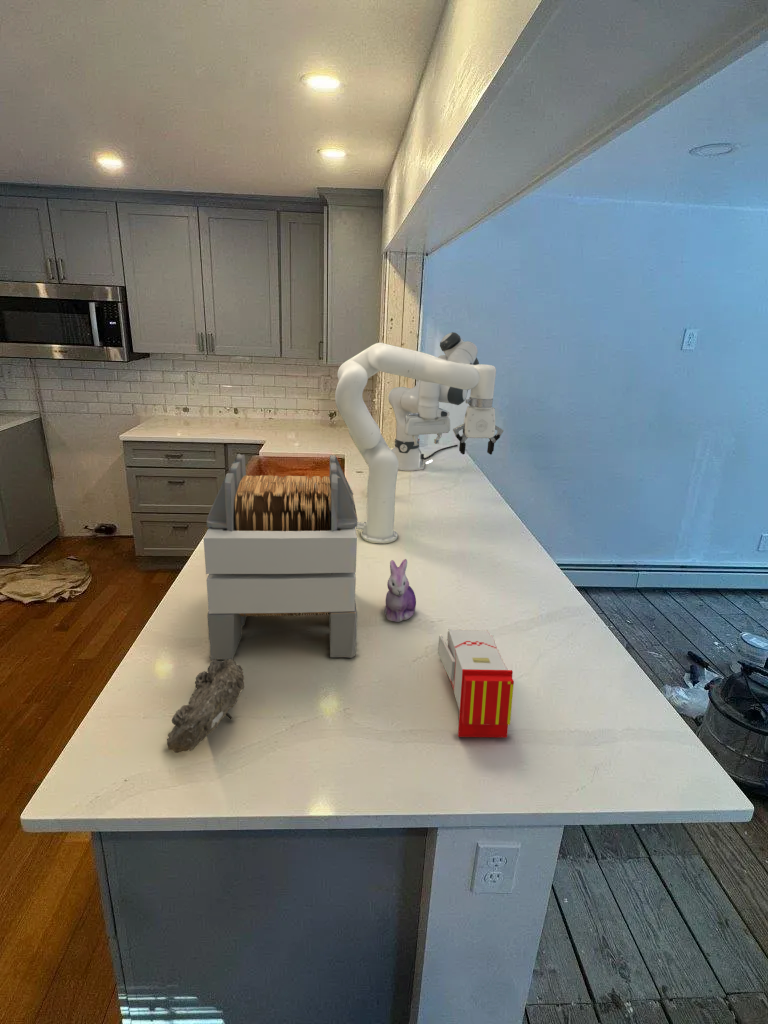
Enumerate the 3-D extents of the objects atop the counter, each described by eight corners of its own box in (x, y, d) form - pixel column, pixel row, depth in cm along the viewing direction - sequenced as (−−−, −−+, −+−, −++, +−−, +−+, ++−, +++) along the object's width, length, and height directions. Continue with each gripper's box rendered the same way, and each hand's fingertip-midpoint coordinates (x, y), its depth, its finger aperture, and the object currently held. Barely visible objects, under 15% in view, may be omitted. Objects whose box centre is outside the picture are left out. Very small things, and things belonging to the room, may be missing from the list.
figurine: (392, 627, 141) (395, 572, 136) (374, 608, 149) (376, 556, 144) (425, 619, 145) (429, 566, 140) (405, 601, 154) (408, 550, 149)
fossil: (192, 660, 117) (244, 628, 112) (224, 691, 120) (276, 661, 115) (142, 746, 98) (202, 712, 93) (182, 779, 101) (242, 748, 96)
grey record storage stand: (230, 589, 156) (222, 444, 142) (349, 588, 159) (352, 446, 146) (207, 662, 124) (194, 484, 110) (356, 658, 128) (362, 486, 114)
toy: (488, 613, 130) (523, 677, 101) (484, 667, 133) (517, 744, 104) (435, 612, 130) (455, 676, 101) (432, 666, 133) (451, 743, 103)
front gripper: (459, 404, 183) (454, 456, 188) (510, 405, 185) (504, 456, 191) (452, 400, 189) (448, 450, 195) (502, 401, 192) (496, 451, 198)
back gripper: (408, 414, 234) (407, 447, 239) (452, 412, 240) (450, 444, 245) (402, 411, 239) (401, 443, 244) (446, 409, 246) (444, 440, 251)
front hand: (476, 453), depth 193 cm, fingers open, 9 cm apart
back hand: (426, 444), depth 245 cm, fingers open, 8 cm apart
